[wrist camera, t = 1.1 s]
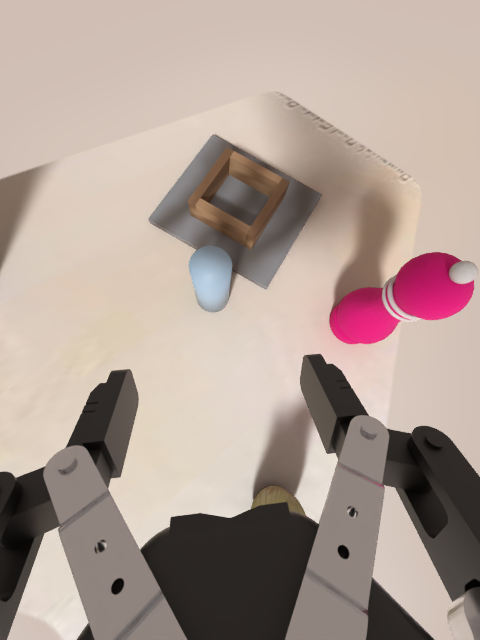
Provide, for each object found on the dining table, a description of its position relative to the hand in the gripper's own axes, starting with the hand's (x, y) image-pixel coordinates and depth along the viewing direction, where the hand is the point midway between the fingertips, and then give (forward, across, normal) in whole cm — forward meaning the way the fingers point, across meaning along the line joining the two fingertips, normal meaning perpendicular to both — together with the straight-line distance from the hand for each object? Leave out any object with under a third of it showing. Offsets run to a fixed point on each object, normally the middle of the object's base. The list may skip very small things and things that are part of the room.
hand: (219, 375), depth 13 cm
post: (+26, 0, +9) cm, 27 cm away
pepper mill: (+22, -20, +13) cm, 32 cm away
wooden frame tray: (+35, -5, 0) cm, 36 cm away
